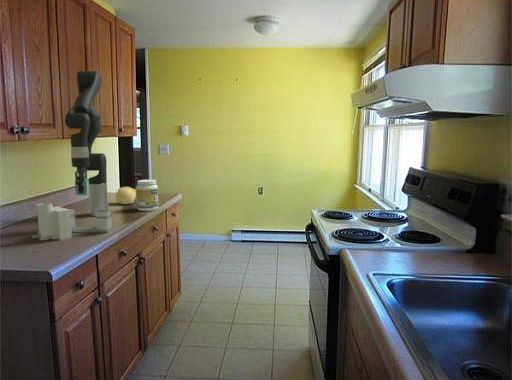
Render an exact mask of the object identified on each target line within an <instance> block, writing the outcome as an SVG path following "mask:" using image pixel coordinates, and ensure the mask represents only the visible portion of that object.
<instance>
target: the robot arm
mask: <svg viewBox="0 0 512 380" xmlns="http://www.w3.org/2000/svg"><path fill="white" fill-rule="evenodd" d="M76 82H77V83H76V84H77V90H78V96H77V97H76V99H75V100H74V104H73V105H72V107H71V108H70V109H69V110H68V112H67V113H66V115H65V117H64V124H65V126H66V127H67V128H69V129H80V131H79V132H77V133H73V134H71V135H70V157H71V160H70V161H71V167H72V168H76V171H74V176H75V177H74V178H75V180H76V185H78V193H79V194H81V193H84V188H83V185H84V184H83V181H84V180H85V178H86V179H88V180H89V194H88V198H89V199H88V201H89V213H90V216H91V217H95V216H96V215H95V212H97V211H99V210H109V202H108V201H109V198H108V197H109V196H108V183H107V179H108V178H107V175H108V173H107V167H108V166H107V163H108V162H107V156H106V154H105V153H102V152H101V153H99V152H98V153H97V152H95V153H93V152H92V147H93V144H94V142H95V140H96V139H97V136H98V135H99V134H100V131H101V129H102V128H101V126H102V124H101V115H100V113H99V111H98V110H97V109H96V107H95V106H94V105H93V101H94V99H95V98H96V96H97V94H98V93H99V91H100V89H101V87H102V76H101V74H100V72H99V71H96V70H78V71H77V73H76ZM88 171H89V172H90V171H92V172H93V171H95V172H98V174H96V175H94V176H91V177H89V178H88ZM79 180H80V181H81V182H79Z"/></svg>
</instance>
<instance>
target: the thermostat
mask: <svg viewBox="0 0 512 380" xmlns="http://www.w3.org/2000/svg"><path fill="white" fill-rule="evenodd" d="M36 207H37V208H36V211H37V220H38V221H37V223H38V231H37V232H38V233H37V234H33V235H29V239H35V238H39V241H47V240H60V241H63V240H68V239H73V232H72V228H71V214H70V210H69V208H64V207H61V206H58V205H57V206H53V203H52V202H42V203H37V204H36Z"/></svg>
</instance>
